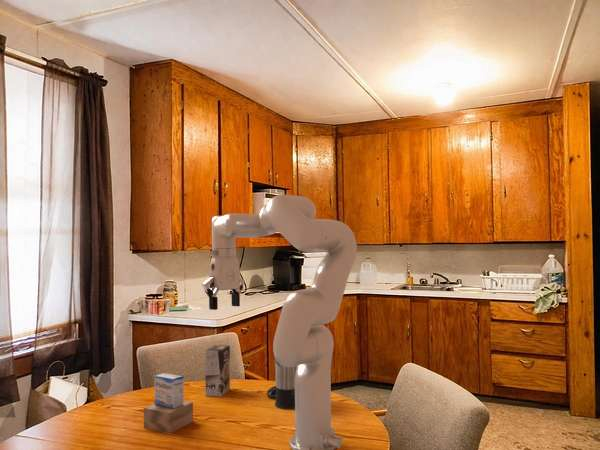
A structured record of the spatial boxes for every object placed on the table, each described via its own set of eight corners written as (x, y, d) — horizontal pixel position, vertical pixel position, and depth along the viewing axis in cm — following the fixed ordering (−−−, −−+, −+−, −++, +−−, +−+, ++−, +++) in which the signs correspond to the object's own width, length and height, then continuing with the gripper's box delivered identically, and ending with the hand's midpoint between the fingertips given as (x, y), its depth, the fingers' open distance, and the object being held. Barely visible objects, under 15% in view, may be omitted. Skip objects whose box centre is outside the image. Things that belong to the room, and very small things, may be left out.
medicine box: (153, 405, 141) (153, 375, 141) (165, 400, 145) (165, 372, 145) (173, 409, 137) (173, 379, 137) (184, 404, 141) (183, 375, 141)
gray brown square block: (193, 422, 143) (192, 402, 143) (170, 434, 134) (170, 412, 134) (167, 417, 147) (167, 397, 147) (143, 428, 138) (143, 407, 138)
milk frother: (294, 411, 150) (293, 364, 151) (252, 404, 157) (252, 359, 158) (313, 398, 163) (312, 354, 163) (273, 392, 170) (273, 350, 171)
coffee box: (221, 396, 166) (221, 350, 166) (204, 395, 167) (204, 350, 168) (230, 389, 174) (230, 345, 175) (214, 388, 176) (214, 344, 176)
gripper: (211, 254, 142) (212, 311, 141) (251, 253, 156) (252, 305, 155) (195, 255, 147) (195, 310, 146) (235, 253, 160) (235, 304, 160)
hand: (224, 307), depth 150 cm, fingers open, 9 cm apart
